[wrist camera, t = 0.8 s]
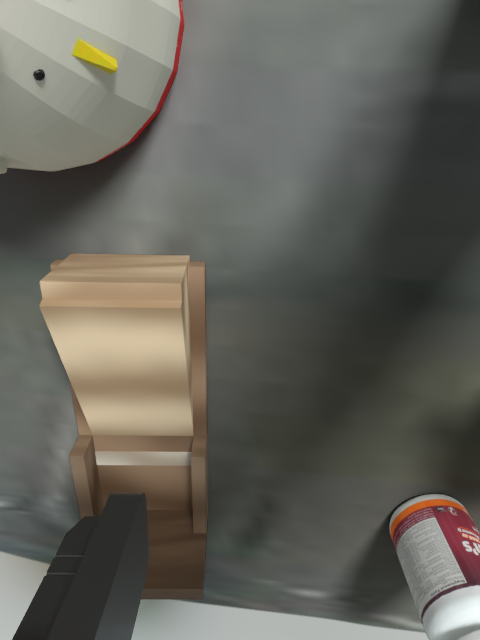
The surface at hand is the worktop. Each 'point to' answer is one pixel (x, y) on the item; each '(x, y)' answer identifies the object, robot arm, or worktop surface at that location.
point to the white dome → (82, 77)
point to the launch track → (139, 398)
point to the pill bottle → (440, 564)
